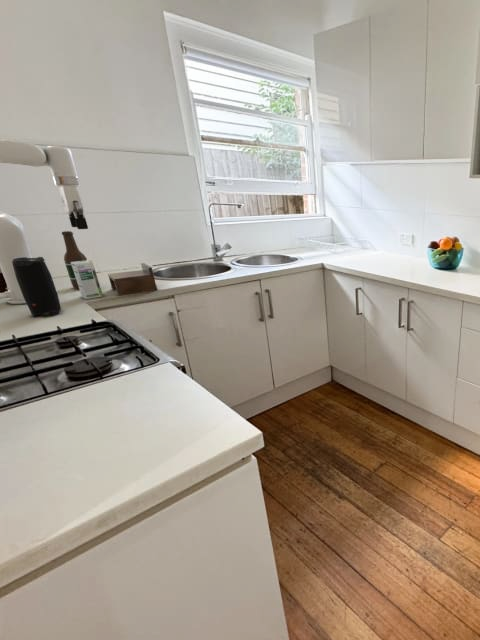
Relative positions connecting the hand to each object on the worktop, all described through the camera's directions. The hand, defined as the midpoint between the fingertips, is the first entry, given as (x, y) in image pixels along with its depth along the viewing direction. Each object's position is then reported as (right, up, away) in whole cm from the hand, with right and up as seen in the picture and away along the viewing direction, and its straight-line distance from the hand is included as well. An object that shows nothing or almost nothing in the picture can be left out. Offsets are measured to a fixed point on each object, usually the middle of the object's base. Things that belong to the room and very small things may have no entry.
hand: (80, 228), depth 153 cm
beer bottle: (-12, -22, +16) cm, 30 cm away
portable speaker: (+5, -36, -18) cm, 41 cm away
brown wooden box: (+12, -23, +14) cm, 30 cm away
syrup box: (+3, -28, +2) cm, 28 cm away
